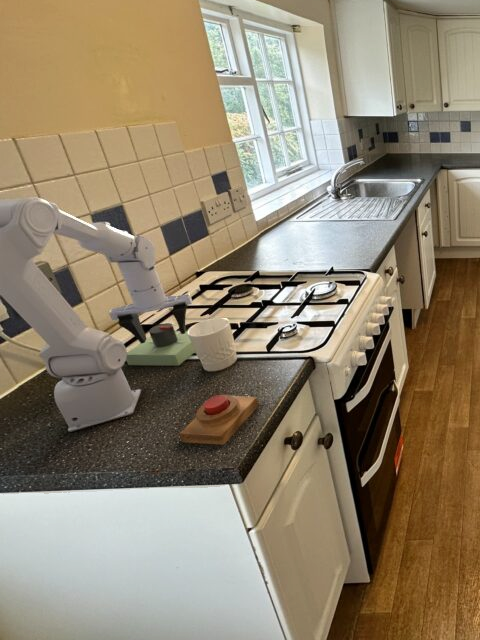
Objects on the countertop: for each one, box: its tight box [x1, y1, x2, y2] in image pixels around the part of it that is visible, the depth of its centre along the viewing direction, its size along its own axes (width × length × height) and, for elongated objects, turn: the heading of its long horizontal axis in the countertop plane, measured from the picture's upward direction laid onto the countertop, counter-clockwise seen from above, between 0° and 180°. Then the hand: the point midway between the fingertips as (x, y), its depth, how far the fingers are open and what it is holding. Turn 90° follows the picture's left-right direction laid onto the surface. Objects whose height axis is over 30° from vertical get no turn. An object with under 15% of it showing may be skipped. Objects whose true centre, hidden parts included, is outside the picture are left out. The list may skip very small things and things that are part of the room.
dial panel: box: [125, 330, 196, 366], centre depth 100 cm, size 12×10×3 cm
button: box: [203, 394, 229, 415], centre depth 78 cm, size 4×4×2 cm
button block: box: [179, 394, 260, 446], centre depth 79 cm, size 10×8×4 cm
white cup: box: [186, 317, 238, 372], centre depth 95 cm, size 8×8×10 cm
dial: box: [148, 322, 177, 347], centre depth 98 cm, size 4×4×4 cm
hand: (164, 336), depth 99 cm, fingers open, 7 cm apart
